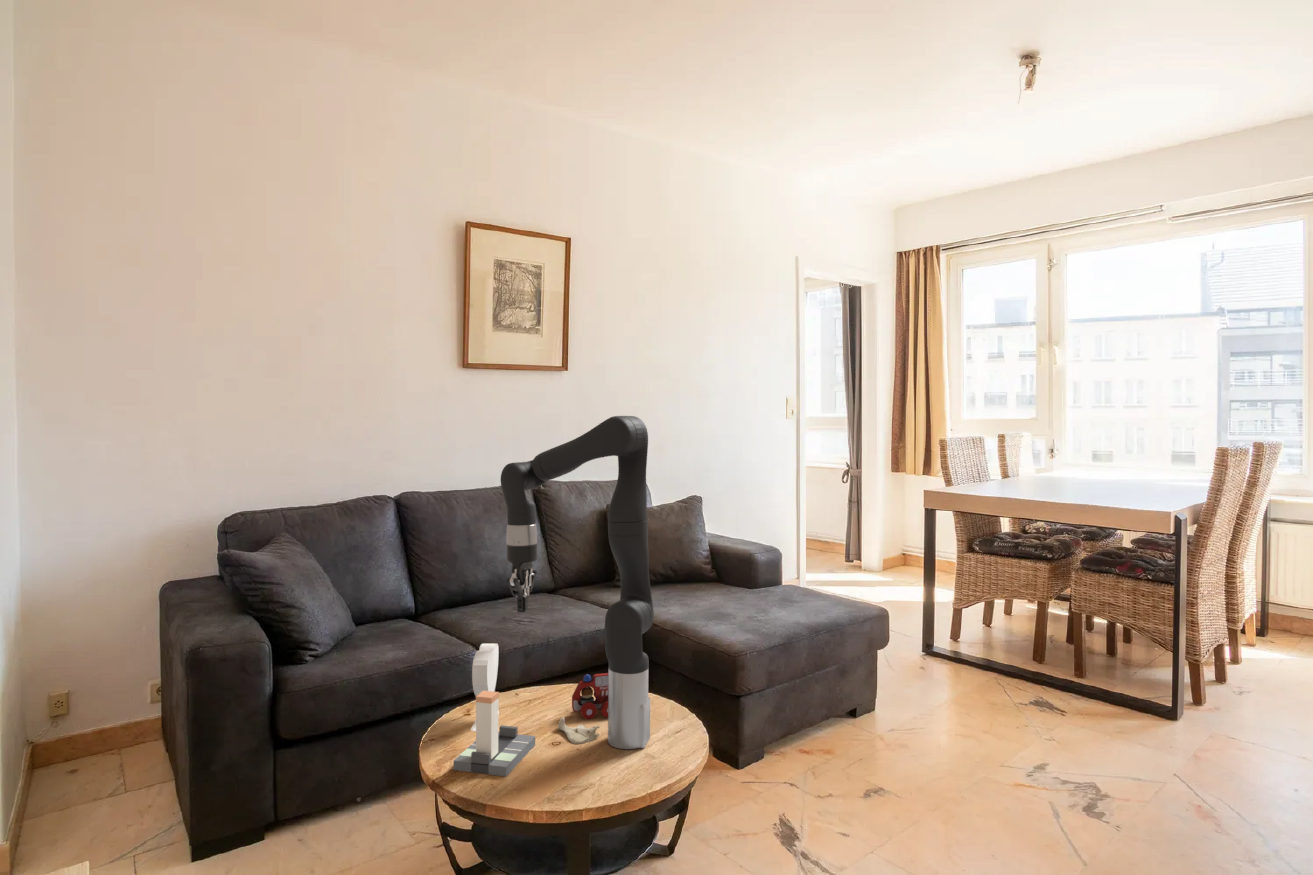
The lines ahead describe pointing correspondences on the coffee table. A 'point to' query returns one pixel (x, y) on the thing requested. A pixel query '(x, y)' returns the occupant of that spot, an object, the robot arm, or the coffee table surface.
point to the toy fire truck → (587, 700)
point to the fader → (487, 722)
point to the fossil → (578, 732)
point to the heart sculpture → (485, 670)
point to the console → (504, 761)
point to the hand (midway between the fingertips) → (522, 611)
